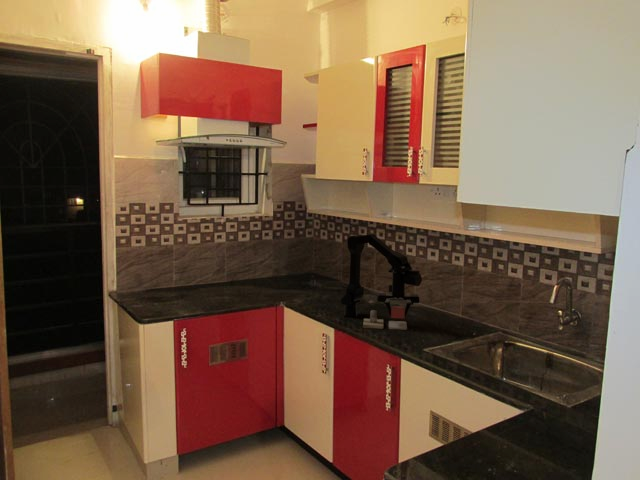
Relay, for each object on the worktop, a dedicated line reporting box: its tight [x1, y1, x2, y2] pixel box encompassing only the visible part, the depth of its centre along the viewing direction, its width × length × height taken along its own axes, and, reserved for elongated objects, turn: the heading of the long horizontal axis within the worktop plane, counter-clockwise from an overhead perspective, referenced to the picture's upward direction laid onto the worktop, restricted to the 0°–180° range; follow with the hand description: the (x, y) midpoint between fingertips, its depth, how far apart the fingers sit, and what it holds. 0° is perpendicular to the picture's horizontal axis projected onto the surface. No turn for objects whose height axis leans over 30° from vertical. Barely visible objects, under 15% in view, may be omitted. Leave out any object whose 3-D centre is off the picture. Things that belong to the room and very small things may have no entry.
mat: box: [388, 320, 408, 331], centre depth 247 cm, size 10×8×1 cm
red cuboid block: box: [390, 305, 406, 319], centre depth 246 cm, size 6×6×4 cm
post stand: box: [362, 309, 384, 330], centre depth 248 cm, size 10×9×6 cm
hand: (397, 316), depth 246 cm, fingers closed on red cuboid block, 6 cm apart
